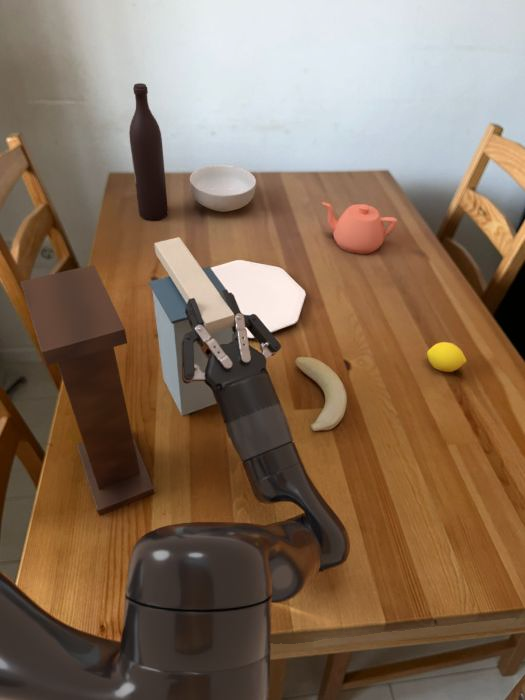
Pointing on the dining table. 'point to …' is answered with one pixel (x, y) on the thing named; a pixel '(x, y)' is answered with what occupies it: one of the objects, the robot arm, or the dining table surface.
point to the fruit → (325, 392)
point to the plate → (263, 292)
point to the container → (170, 337)
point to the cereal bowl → (222, 187)
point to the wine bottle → (147, 159)
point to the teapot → (359, 228)
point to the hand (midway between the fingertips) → (206, 296)
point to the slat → (194, 284)
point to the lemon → (446, 357)
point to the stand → (90, 379)
